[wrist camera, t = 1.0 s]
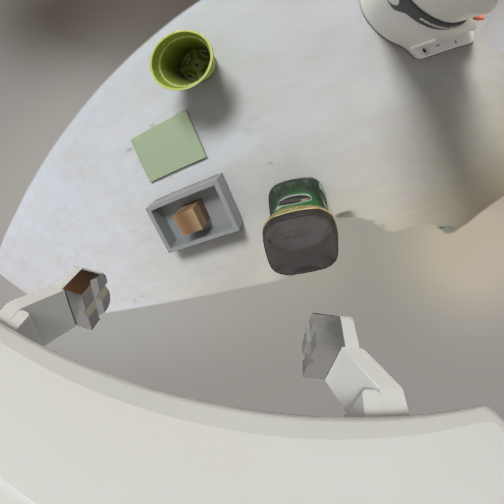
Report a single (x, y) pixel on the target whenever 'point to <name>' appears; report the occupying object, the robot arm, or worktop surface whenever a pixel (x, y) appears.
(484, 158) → the worktop surface
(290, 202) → the coffee jar
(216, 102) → the worktop surface
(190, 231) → the walnut block
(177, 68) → the plant pot
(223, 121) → the worktop surface
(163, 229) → the grey bin
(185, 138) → the olive mat
